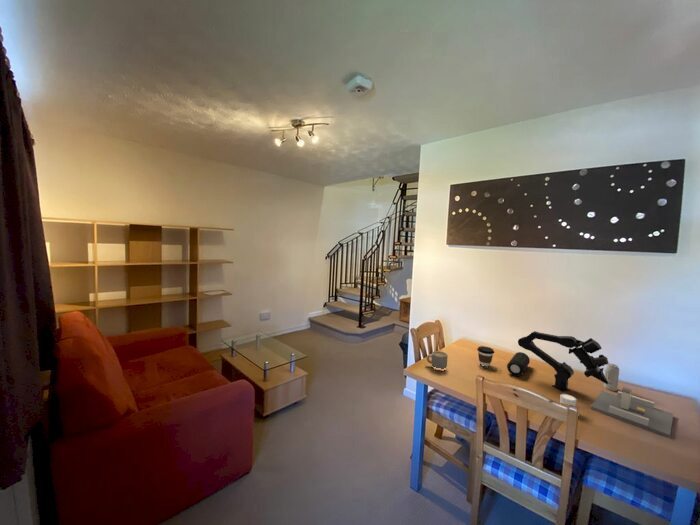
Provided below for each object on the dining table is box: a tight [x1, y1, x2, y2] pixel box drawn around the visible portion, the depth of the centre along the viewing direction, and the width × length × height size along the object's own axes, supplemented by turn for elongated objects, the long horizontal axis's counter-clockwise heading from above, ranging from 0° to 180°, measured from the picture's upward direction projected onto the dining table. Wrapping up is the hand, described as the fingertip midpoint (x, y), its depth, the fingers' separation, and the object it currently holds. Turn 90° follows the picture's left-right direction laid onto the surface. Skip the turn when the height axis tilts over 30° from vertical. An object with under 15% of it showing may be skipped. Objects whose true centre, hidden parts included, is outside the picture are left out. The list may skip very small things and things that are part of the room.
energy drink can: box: [603, 362, 620, 392], centre depth 173 cm, size 6×6×15 cm
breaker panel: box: [590, 390, 674, 439], centre depth 149 cm, size 28×27×4 cm
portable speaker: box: [506, 351, 531, 377], centre depth 195 cm, size 26×10×10 cm, turn 139°
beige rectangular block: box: [620, 386, 633, 410], centre depth 150 cm, size 3×5×9 cm, turn 129°
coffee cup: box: [476, 345, 495, 367], centre depth 202 cm, size 11×11×12 cm
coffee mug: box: [426, 350, 448, 369], centre depth 196 cm, size 13×10×10 cm
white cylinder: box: [559, 393, 577, 407], centre depth 149 cm, size 7×7×7 cm
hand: (607, 383), depth 156 cm, fingers closed
